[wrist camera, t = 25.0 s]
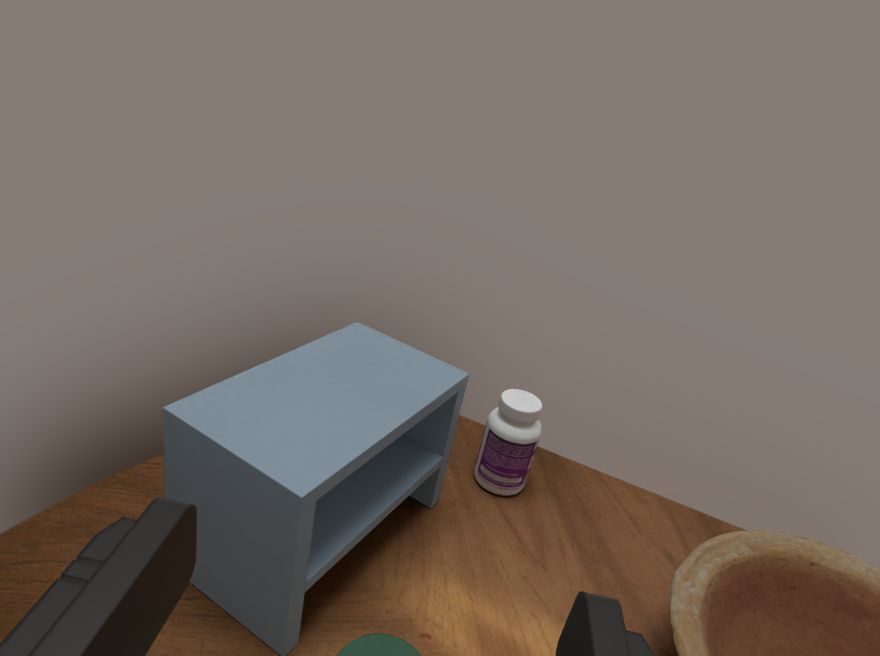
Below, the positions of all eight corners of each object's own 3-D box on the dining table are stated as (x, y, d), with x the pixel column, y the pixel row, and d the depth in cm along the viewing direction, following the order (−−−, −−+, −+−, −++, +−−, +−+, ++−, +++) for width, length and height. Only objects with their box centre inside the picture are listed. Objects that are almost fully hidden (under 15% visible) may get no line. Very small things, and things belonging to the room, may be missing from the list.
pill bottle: (532, 496, 58) (559, 416, 54) (483, 499, 56) (506, 416, 52) (512, 461, 63) (535, 384, 59) (466, 462, 61) (486, 384, 57)
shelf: (165, 562, 44) (162, 407, 38) (340, 443, 60) (357, 321, 54) (283, 658, 39) (301, 497, 33) (438, 500, 55) (469, 373, 49)
